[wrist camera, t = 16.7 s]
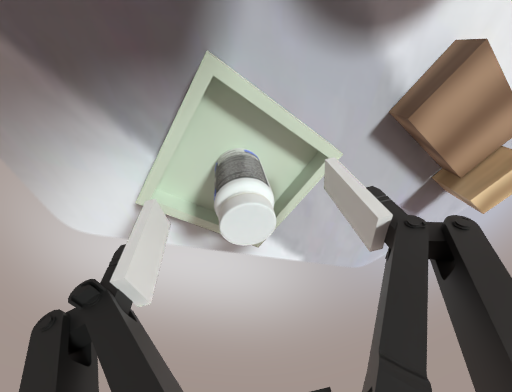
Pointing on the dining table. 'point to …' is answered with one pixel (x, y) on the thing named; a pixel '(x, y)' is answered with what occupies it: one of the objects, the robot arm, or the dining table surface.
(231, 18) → the dining table surface
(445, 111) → the brown cardboard box
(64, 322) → the robot arm
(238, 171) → the pill bottle
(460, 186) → the wooden block
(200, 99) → the tray
